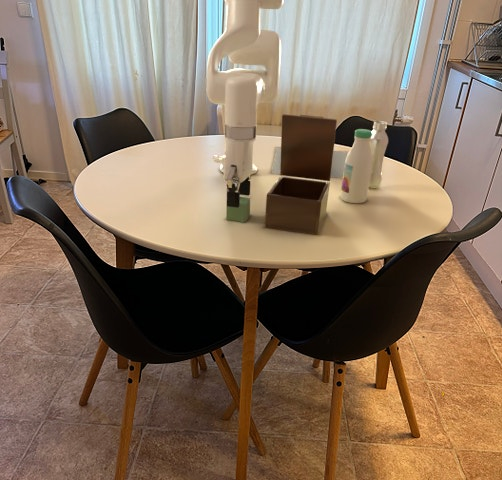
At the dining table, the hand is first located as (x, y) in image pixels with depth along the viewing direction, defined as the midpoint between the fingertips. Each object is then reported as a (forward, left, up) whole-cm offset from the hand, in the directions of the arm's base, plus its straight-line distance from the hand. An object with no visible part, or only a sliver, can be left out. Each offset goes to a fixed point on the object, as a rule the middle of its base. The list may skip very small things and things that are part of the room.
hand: (238, 200), depth 124 cm
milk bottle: (+28, +26, -5) cm, 39 cm away
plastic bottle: (+32, +40, -5) cm, 52 cm away
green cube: (0, 0, -5) cm, 5 cm away
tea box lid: (+15, +10, +12) cm, 22 cm away
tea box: (+15, +4, -5) cm, 16 cm away
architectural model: (+10, +61, -5) cm, 62 cm away
